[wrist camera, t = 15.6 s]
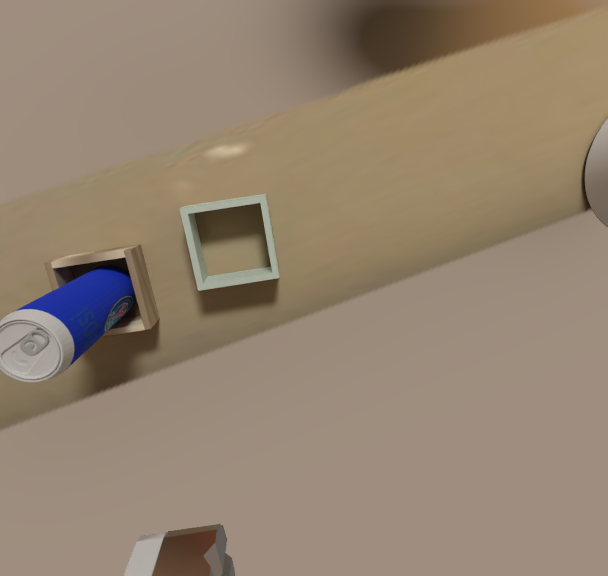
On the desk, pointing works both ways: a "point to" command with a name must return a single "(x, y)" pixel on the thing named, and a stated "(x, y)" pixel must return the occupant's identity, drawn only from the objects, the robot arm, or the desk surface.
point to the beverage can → (63, 324)
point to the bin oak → (62, 275)
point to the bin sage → (197, 253)
